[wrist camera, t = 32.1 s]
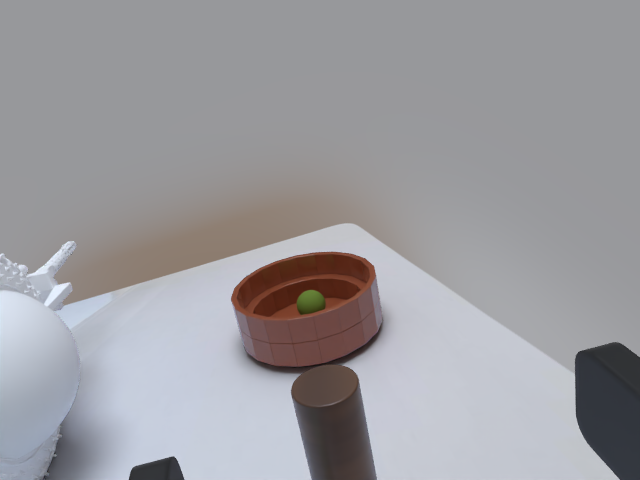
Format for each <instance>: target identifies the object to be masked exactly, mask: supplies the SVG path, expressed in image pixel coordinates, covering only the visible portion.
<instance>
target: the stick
mask: <svg viewBox="0 0 640 480" xmlns="http://www.w3.org/2000/svg"><path fill="white" fill-rule="evenodd" d="M291 395H292V399H293V403H294V407H295V412H296V416H297V420H298V424H299V428H300V432H301V437H302V441H303V445H304V449H305V453H306V458H307V462H308V466H309V470H310V474H311V478H312V480H377V477H376V472H375V466H374V461H373V455H372V450H371V444H370V439H369V433H368V428H367V422H366V417H365V412H364V406H363V401H362V395H361V390H360V384H359V379H358V376H357V375H356V373H355V372H354V371H353V370H351V369H350V368H348V367H345V366H342V365H333V364H332V365H322V366H318V367H315V368H312V369H310V370H308V371H306V372H304V373H303V374H301V375H300V376H299V377H298V378H297V379H296V380H295V381H294V383H293V385H292V389H291Z"/></svg>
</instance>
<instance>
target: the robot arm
mask: <svg viewBox="0 0 640 480" xmlns="http://www.w3.org/2000/svg"><path fill="white" fill-rule="evenodd" d="M575 388H576V417H577V422H578V425H579V428H580V430H581V433H582V435H583V436H584V438H585V440H586V441H587V443H588V444H589V445H590V447H591V448H592V449H593V450H594V451H595V452H596V453H597V455H598V456H599V457H600V458H601V459H602V460H603V461H604V462H605V463H606V465H607V466H608V467H609V468H610V469H611V470H612V471H613V472H614V473H615V475H616V476H617V477H618V478H619V479H620V480H640V357H638V356H637V355H636V354H635V353H633V352H632V351H631V350H629V349H628V348H627V347H625V346H624V345H622V344H620V343H617V342H613V343H609V344H606V345H602V346H598V347H595V348H590V349H587V350H583V351H580V352H578V354H577V355H576V359H575ZM129 480H184V477H183V474H182V472H181V469H180V466H179V463H178V461H177V459H176V458H175V457H169V458H165V459H161V460H157V461H154V462H150V463H146V464H142V465H138V466H135V467H133V468H132V470H131V473H130V477H129Z"/></svg>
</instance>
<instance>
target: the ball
mask: <svg viewBox="0 0 640 480" xmlns="http://www.w3.org/2000/svg"><path fill="white" fill-rule="evenodd" d="M325 307H326V302H325V299H324V297H323V295H322V294H321V293H319V292H318V291H315V290H307V291H305V292H303V293H302V294H301V295H300V296H299V297H298V300H297V310H298V312H299V313H300V315H305V314H311V313H315V312H318V311H321V310H324V309H325Z"/></svg>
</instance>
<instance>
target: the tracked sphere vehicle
mask: <svg viewBox="0 0 640 480" xmlns="http://www.w3.org/2000/svg"><path fill="white" fill-rule="evenodd" d="M76 246H77V245H76V244H75V241H68V242H67V243H66V244H65V245H63V247H62V246H61V247H62V248H61V249H60V250H59V251H58V252H57V253H56V254H55V255H54V256H53V257H52V258H51V259H50V260H49V261H48V262H47V263H46V264H45V265H44V266H42V267H40V268H39V269H38V270H37V271H35V272H34V273H32V274H27V271H28V268H27V266H25V265H23V264H22V265H19V266H18V267H17V265H18V264H17V263H15V264H13V263H12V262H11V261H10V260H8V259H6V258H5V257H4V256H5V255H4V254H1V255H0V480H42V479H43V478H44V476H45V475H46V476H48V474H49V472H47V470H48V467H49V466H50V463H51V460H52V457H54V458H56V455H57V454H55V455H54V452H55V450H56V449H55V448H56V445H57V441H58V439H61V437H62V434H60V435H59V431H60V427H63V426H60V424H61V422H62V421H63V419H64V418H65V417H66V415H67V414H68V412H69V410H70V408H71V406H72V404H73V402H74V399H75V396H76V393H77V390H78V386H79V380H80V359H79V352H78V348H77V345H76V342H75V339H74V337H73V335H72V333H71V331H70V330H69V328H68V327H67V325H66V324H65V323H64V321H63V320H62V319H61V318H60V317H59V316H58V315H57V314H56V313H55V312H54V311H57V310H61V309H62V308H63V303H62V301H63V300H64V299H65V298H66V297H67V296H68V295H69V294H70V292H71V291H72V290H73V288H72V285H71V283H65V284H60V285H58V283H57V281H56V280H54V277H53V276H54V275H55V273H56V272H57V271H58V270H59V268H60V267H61V266H62V265H63V264H64V263H65V261H66V260H67V257H68V256H69V255H71V252H72V251H73V250H75V248H76ZM72 253H73V252H72ZM58 437H60V438H58ZM46 472H47V473H46Z"/></svg>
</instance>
